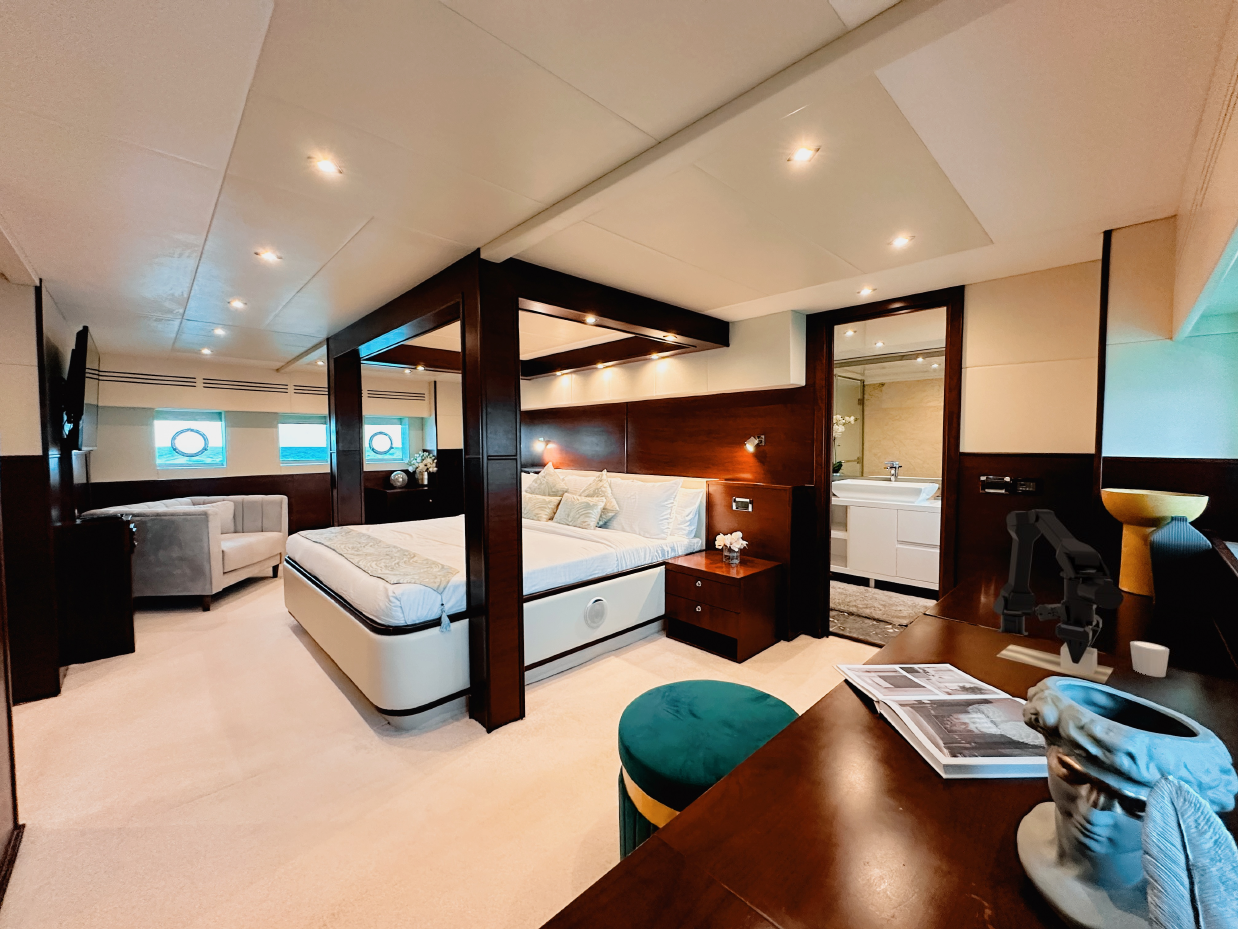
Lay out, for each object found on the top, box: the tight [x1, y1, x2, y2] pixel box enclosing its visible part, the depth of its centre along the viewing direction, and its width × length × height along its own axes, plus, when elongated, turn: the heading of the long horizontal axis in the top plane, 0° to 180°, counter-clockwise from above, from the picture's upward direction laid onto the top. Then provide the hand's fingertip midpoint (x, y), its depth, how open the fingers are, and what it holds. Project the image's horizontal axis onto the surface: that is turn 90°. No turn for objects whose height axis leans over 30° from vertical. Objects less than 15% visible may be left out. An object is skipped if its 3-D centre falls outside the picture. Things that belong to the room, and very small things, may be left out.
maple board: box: [996, 644, 1114, 684], centre depth 129 cm, size 14×21×2 cm, turn 38°
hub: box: [1060, 642, 1098, 675], centre depth 125 cm, size 6×6×5 cm
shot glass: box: [1129, 640, 1170, 678], centre depth 126 cm, size 7×7×7 cm
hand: (1079, 658), depth 125 cm, fingers open, 9 cm apart
